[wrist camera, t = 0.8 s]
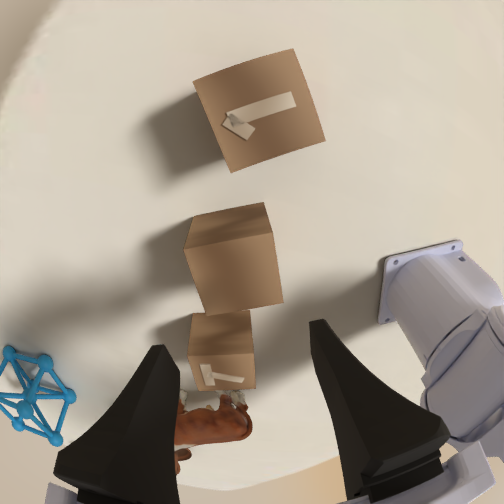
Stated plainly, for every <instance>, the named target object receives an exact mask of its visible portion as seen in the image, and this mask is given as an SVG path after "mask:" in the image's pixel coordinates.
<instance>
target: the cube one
mask: <svg viewBox="0 0 504 504" xmlns="http://www.w3.org/2000/svg"><path fill="white" fill-rule="evenodd" d="M193 84H194V86H195V89H196V91H197V93H198V96H199V98H200V100H201V103H202V105H203V108H204V110H205V112H206V115H207V117H208V119H209V122H210V124H211V127H212V129H213V131H214V134H215V136H216V139H217V141H218V143H219V146H220V148H221V151H222V153H223V156H224V158H225V160H226V163H227V165H228V168H229V170H230V172H231V173H233V172H235V171H238V170H241V169H243V168H246V167H249V166H252V165H254V164H257V163H260V162H263V161H266V160H268V159H271V158H274V157H277V156H280V155H283V154H286V153H289V152H292V151H295V150H298V149H301V148H304V147H308V146H311V145H314V144H317V143H321V142H324V141H326V140H325V137H324V134H323V130H322V127H321V124H320V121H319V118H318V115H317V112H316V109H315V106H314V103H313V100H312V97H311V94H310V91H309V88H308V86H307V83H306V80H305V77H304V75H303V72H302V69H301V67H300V64H299V62H298V59H297V57H296V54H295V52H294V49H289V50H285V51H281V52H277V53H273V54H270V55H266V56H263V57H259V58H256V59H253V60H250V61H246V62H243V63H240V64H237V65H234V66H231V67H229V68H226V69H223V70H220V71H218V72H215V73H212V74H210V75H207V76H205V77H202V78H200V79H197V80H195V81H193Z"/></svg>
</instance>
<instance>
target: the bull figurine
mask: <svg viewBox="0 0 504 504" xmlns="http://www.w3.org/2000/svg"><path fill="white" fill-rule="evenodd" d="M215 392H216V393H217V394H218V396H219V398H220V406H219V409H218V410H217V411H215V410H214V409H213V408H212V407H211V406H210V405H207V406H206V408H198V409H195V410H192V411H189V412H188V411H187V410H186V408H185V406H186V401H185V399H186V398H187V396H188V395H187V392H184V390H182V389H180V399H179V403H178V410H177V418H176V426H175V437H174V450H175V451H176V450H179V449H182V448H190V447H193V446H196V445H202V444H210V443H224V442H231V441H240V440H243V439H245V438H247V437H248V436H249V435H250V434H251V432H252V421H251V418H250V416H249V415H248V414H247V412H246V411H247V409H248V406H247V404H246V402H245V399H244V394H243V393H242V394H241V393H240V392H239V391H235V392H234V391H231V392H230V396H228V395H227V394H226V393H225V392H224V390H216V391H215ZM231 403H232V404H234V405H235V406H236V409H235V408H234V406H233V405H232V404H231Z"/></svg>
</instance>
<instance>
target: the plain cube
mask: <svg viewBox="0 0 504 504" xmlns="http://www.w3.org/2000/svg"><path fill="white" fill-rule="evenodd" d="M183 250H184V253H185V256H186V259H187V262H188V265H189V268H190V271H191V274H192V277H193V280H194V282H195V285H196V288H197V291H198V294H199V296H200V299H201V302H202V305H203V307H204V310H205V313H206V315H207V316H210V315H217V314H223V313H229V312H235V311H241V310H247V309H252V308H258V307H264V306H269V305H274V304H280V303H284V302H283V296H282V289H281V282H280V276H279V269H278V263H277V256H276V250H275V243H274V237H273V232H272V228H271V225H270V222H269V218H268V215H267V212H266V209H265V205H264V202H261V203H256V204H251V205H246V206H240V207H235V208H230V209H225V210H220V211H215V212H211V213H206V214H201V215H196V216H194V217H193V220H192V223H191V226H190V229H189V233H188V236H187V239H186V242H185V246H184V249H183Z"/></svg>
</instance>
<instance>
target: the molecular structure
mask: <svg viewBox="0 0 504 504" xmlns="http://www.w3.org/2000/svg"><path fill="white" fill-rule="evenodd" d="M3 357H4V360H3V362H2V363H1V365H0V376H1V374H2V372H3V370H4V368H5V366H6V364H7V363H8V362H11V364H12V366H13V368H14V371H15V373H16V375H17V377H18V379H19V381H20V383H21V385H22V387H23V389H24V391H23V393H22V394H19V393H3V392H0V402H1V403H3V404H6V405H8V406H10V407H12V408H15V409H17V412H18V414H19V417H13V416H12V415H11V414H10V413H9V412H8V411H7V410H6V409H5V408H4V407H3V406H2V405H1V404H0V409H1V410H2V411H3V412H4V414H6V415H7V417H9V418H10V419H11V420H12V426H13V427H14V429H15V430H17V431H23V430H24V429H26V430H28V431H30V432H33V433H35V434H38V435H40V436H43V437H46V438H48V440H49V442H50V443H51V444H52V445H53V446H56V447H58V446H61V445H62V444H63V437H62V436H61V434H60V431H61V427H62V424H63V421H64V418H65V415H66V412H67V409H68V406H69V404H72V403H74V402H75V401H76V398H77V397H76V394H75V392H74V391H73V390H71V389H66V388H65V387H64V385H63V384H62V383H61V381H60V380H59V378H58V377H57V376H56V374H55V373H54V371H53V370H52V368H53V361H52V359H51V358H50V357H49V356H48V355H44V354H43V355H41V356H39V358H38V359H36V358H32V357H28V356H24V355H20V354H17V353H16V351H15V350H14V348H12V347H11V346H6V347H5V348H4V349H3ZM16 359H20V360H23V361H27V362H31V363H35V364H38V366H39V368H40V369H39V371H38V373H37V375H36V377H35V380H33V379H31V380H30V378H29V377H28V376H27V375H26V373H25V372H24V370H23V369H22V368H21V366H20V365H19V363H18V362H17V361H16ZM44 372H49V373H50V375H51V376H52V378H53V379H54V380H55V382H56V383H57V385H58V386H59V387H60V389H61V390H62V391H63V392H59V391H55V390H51V389H48V388H44V387H41V386H39V383H40V380H41V378H42V376H43V374H44ZM20 373H21V374H22V376H23V377H24V378H25V380H26V381H27V382H28V383H27V386H26V384H25V382H24V380H23V378H22V376H21V374H20ZM39 391H43V392H46V393H50V394H36V393H38V392H39ZM5 398H16V399H24V400H21V401H19V402H18V403H17V404H16V403H14V402H12V401H9V400H7V399H5ZM37 399H63V400H64V401H65V402H64V405H63V408H62V411H61V414H60V417H59V420H58V423H57V426H56V429H55V431H52V429H51V427H50V426H49V424H48V423H47V421H46V420H45V418H44V416H43V415H42V413H41V411H40V410H39V408H38V406H37V404H36V401H37ZM32 406H33V407H32ZM33 408H34V409H35V411H36V413H37V415H38V416H39V418H40V420H41V421H42V423H43V424H44V425H43V424H42V423H41V422H40V421H39V420H38V419H37V418H36V417H35V416H34V415H33V414H34V410H33ZM23 418H24V419H31V420H32V421H33V422H34V423H35V424H36V425H37V426H39V427H40V428H41V429H42V430H43V431H44V432H42V431H39V430H37V429H34V428H32V427H29V426H27V425H25V423H24V421H23Z"/></svg>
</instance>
